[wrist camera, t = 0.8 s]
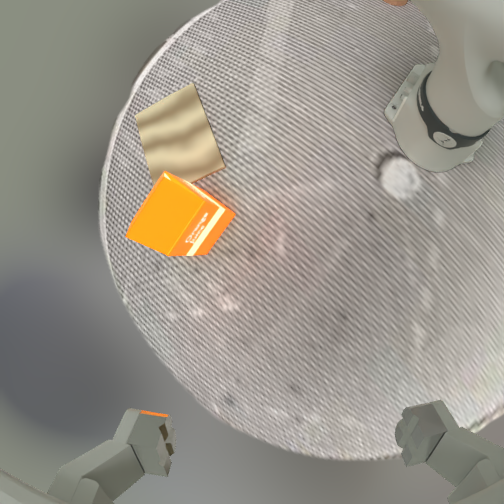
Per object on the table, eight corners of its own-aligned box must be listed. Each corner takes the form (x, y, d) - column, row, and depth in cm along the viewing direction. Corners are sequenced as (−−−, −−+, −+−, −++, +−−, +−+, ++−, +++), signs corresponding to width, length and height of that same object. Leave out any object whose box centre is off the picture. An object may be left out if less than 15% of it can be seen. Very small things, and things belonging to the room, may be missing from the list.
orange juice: (236, 214, 52) (188, 193, 32) (206, 255, 53) (145, 258, 33) (202, 189, 53) (143, 159, 34) (175, 229, 54) (105, 219, 35)
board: (136, 116, 56) (134, 115, 56) (194, 84, 54) (193, 82, 53) (159, 199, 55) (157, 198, 54) (226, 167, 52) (224, 166, 51)
